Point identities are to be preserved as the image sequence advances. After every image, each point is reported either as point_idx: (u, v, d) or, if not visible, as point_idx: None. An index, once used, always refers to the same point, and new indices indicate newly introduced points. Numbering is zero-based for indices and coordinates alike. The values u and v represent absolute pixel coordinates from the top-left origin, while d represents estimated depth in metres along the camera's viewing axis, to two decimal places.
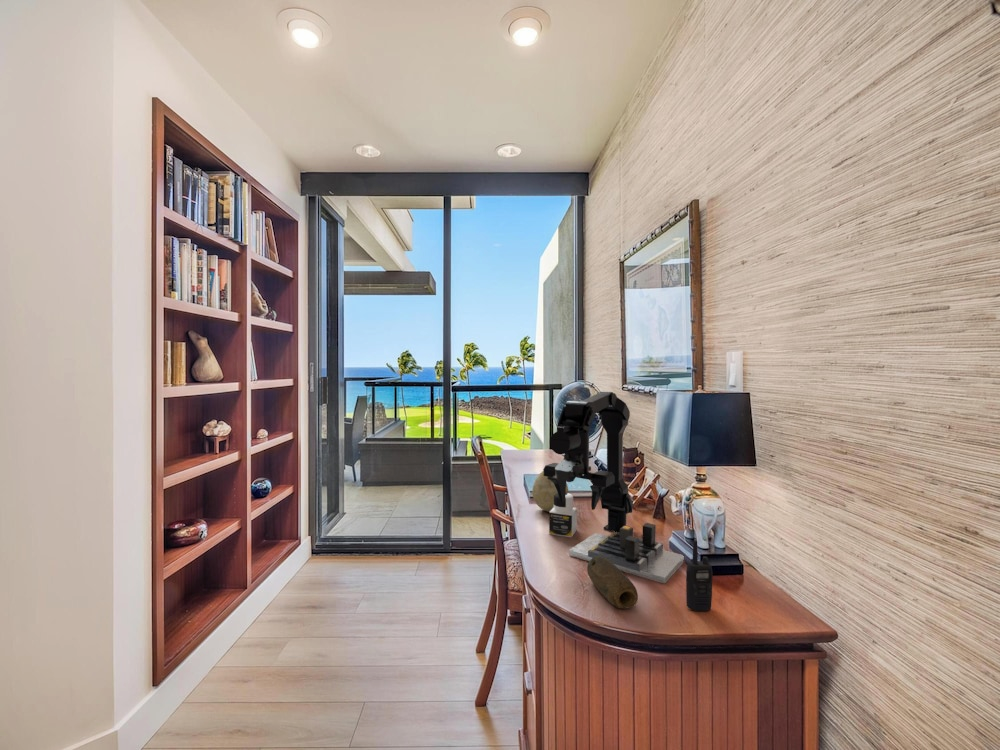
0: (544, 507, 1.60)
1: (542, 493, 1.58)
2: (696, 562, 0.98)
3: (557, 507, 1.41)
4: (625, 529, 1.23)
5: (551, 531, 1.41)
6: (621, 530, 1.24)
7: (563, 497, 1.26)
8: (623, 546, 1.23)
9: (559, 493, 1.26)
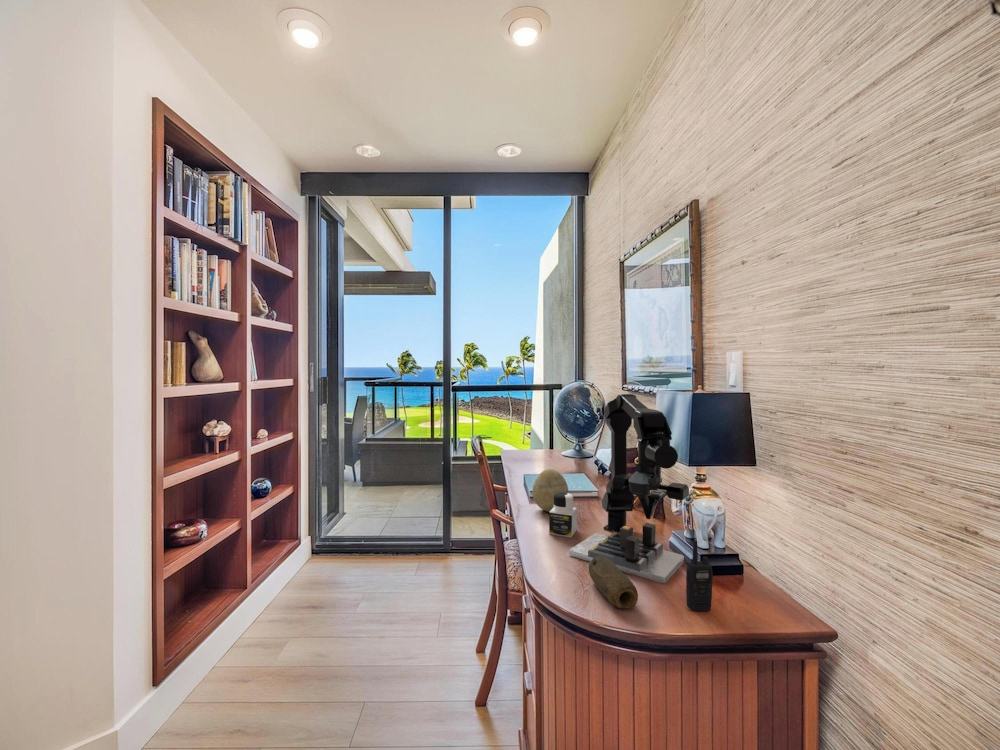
0: (544, 507, 1.60)
1: (542, 493, 1.58)
2: (696, 562, 0.98)
3: (557, 507, 1.41)
4: (625, 529, 1.23)
5: (551, 531, 1.41)
6: (621, 530, 1.24)
7: None
8: (623, 546, 1.23)
9: (645, 509, 1.20)
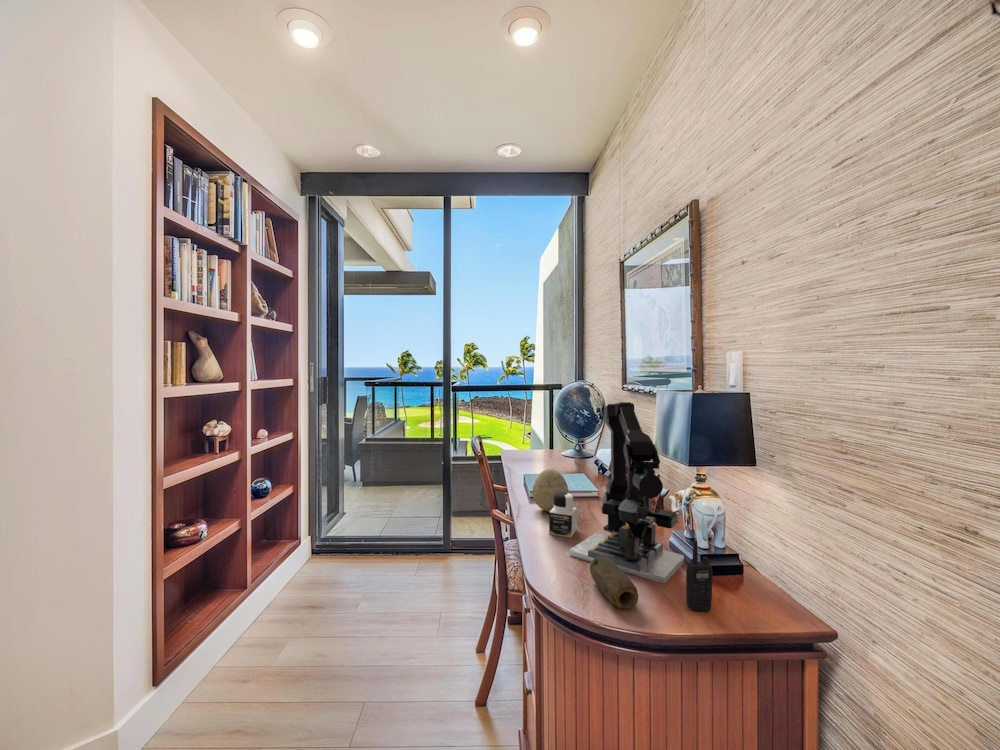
0: (544, 507, 1.60)
1: (542, 493, 1.58)
2: (696, 562, 0.98)
3: (557, 507, 1.41)
4: (624, 529, 1.23)
5: (551, 531, 1.41)
6: (620, 530, 1.24)
7: None
8: (622, 546, 1.23)
9: (634, 535, 1.22)
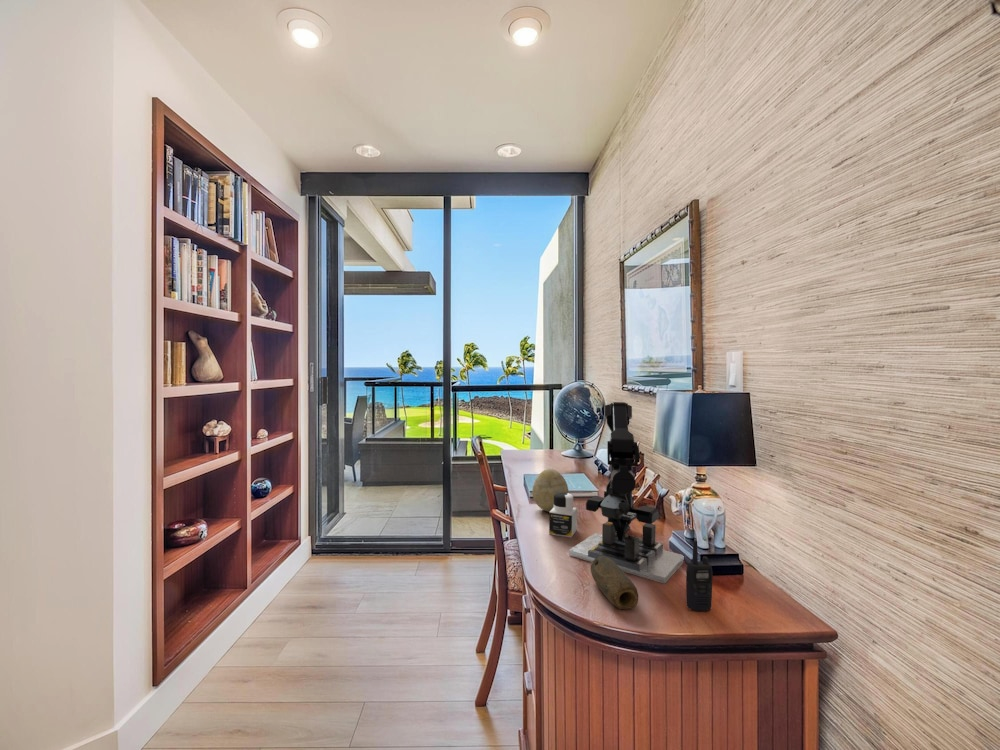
0: (544, 507, 1.60)
1: (542, 493, 1.58)
2: (696, 562, 0.98)
3: (557, 507, 1.41)
4: (607, 525, 1.26)
5: (551, 531, 1.41)
6: (604, 526, 1.27)
7: None
8: (606, 541, 1.26)
9: (617, 531, 1.25)
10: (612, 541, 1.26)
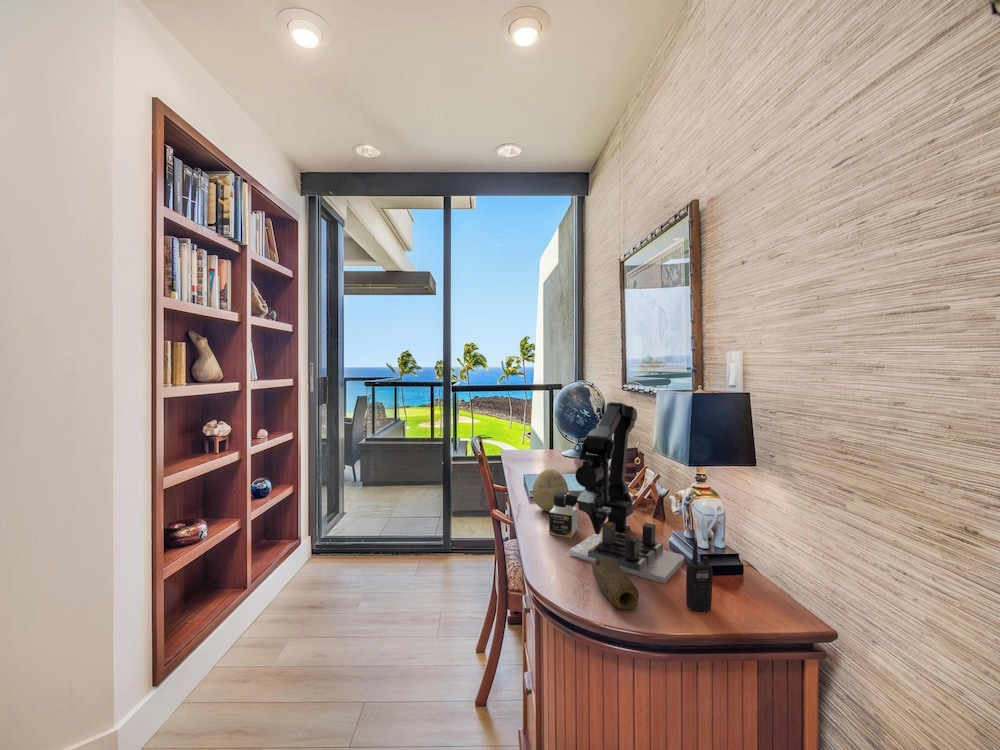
0: (544, 507, 1.60)
1: (542, 493, 1.58)
2: (696, 562, 0.98)
3: (557, 507, 1.41)
4: (607, 525, 1.26)
5: (551, 531, 1.41)
6: (603, 526, 1.27)
7: None
8: (605, 541, 1.26)
9: (594, 525, 1.29)
10: (612, 541, 1.26)
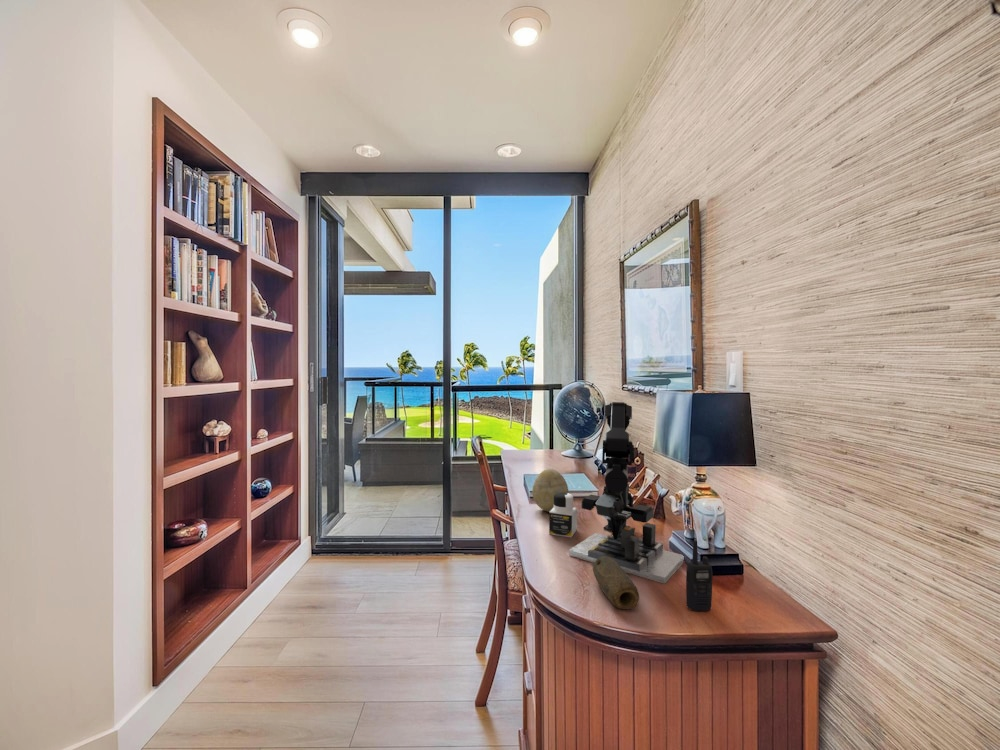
0: (544, 507, 1.60)
1: (542, 493, 1.58)
2: (696, 562, 0.98)
3: (557, 507, 1.41)
4: (627, 529, 1.23)
5: (551, 531, 1.41)
6: (623, 530, 1.23)
7: None
8: None
9: (612, 529, 1.26)
10: None
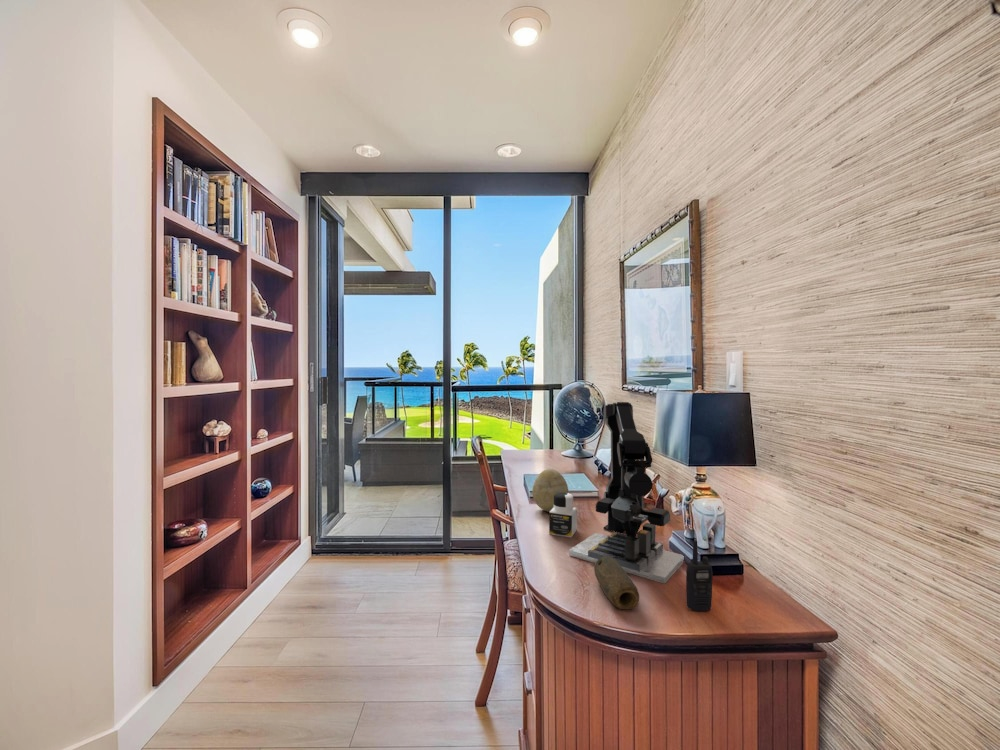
0: (544, 507, 1.60)
1: (542, 493, 1.58)
2: (696, 562, 0.98)
3: (557, 507, 1.41)
4: (643, 533, 1.20)
5: (551, 531, 1.41)
6: (638, 534, 1.21)
7: None
8: (640, 551, 1.20)
9: (627, 533, 1.23)
10: (647, 550, 1.20)
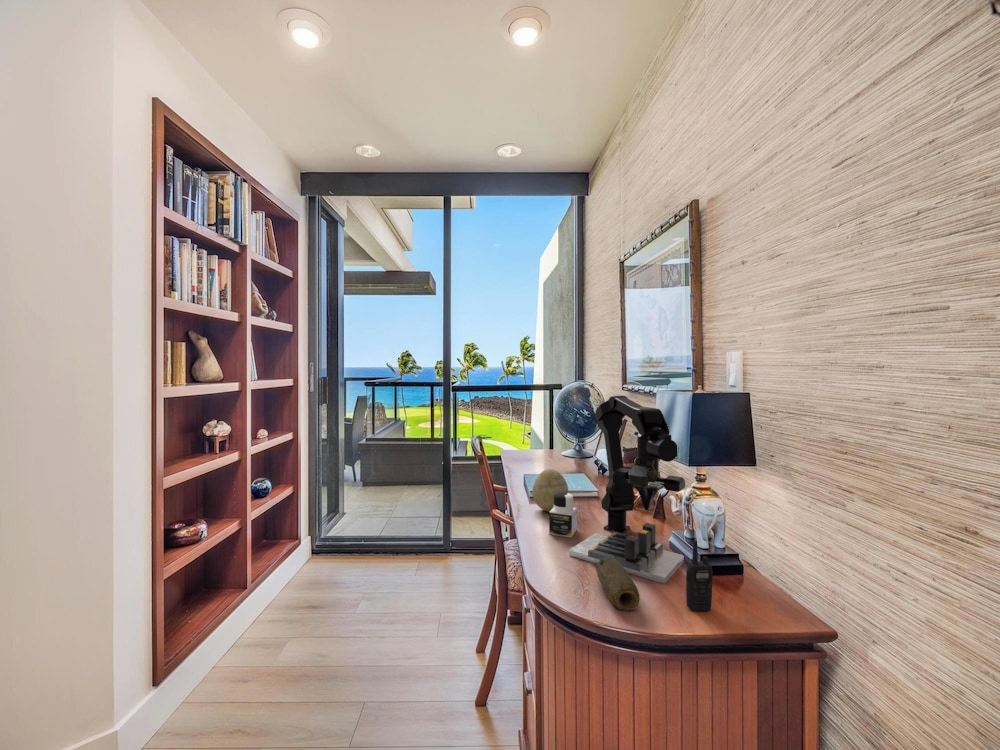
0: (544, 507, 1.60)
1: (542, 493, 1.58)
2: (696, 562, 0.98)
3: (557, 507, 1.41)
4: (643, 533, 1.20)
5: (551, 531, 1.41)
6: (639, 534, 1.21)
7: None
8: (641, 551, 1.20)
9: (643, 500, 1.27)
10: (647, 550, 1.20)
